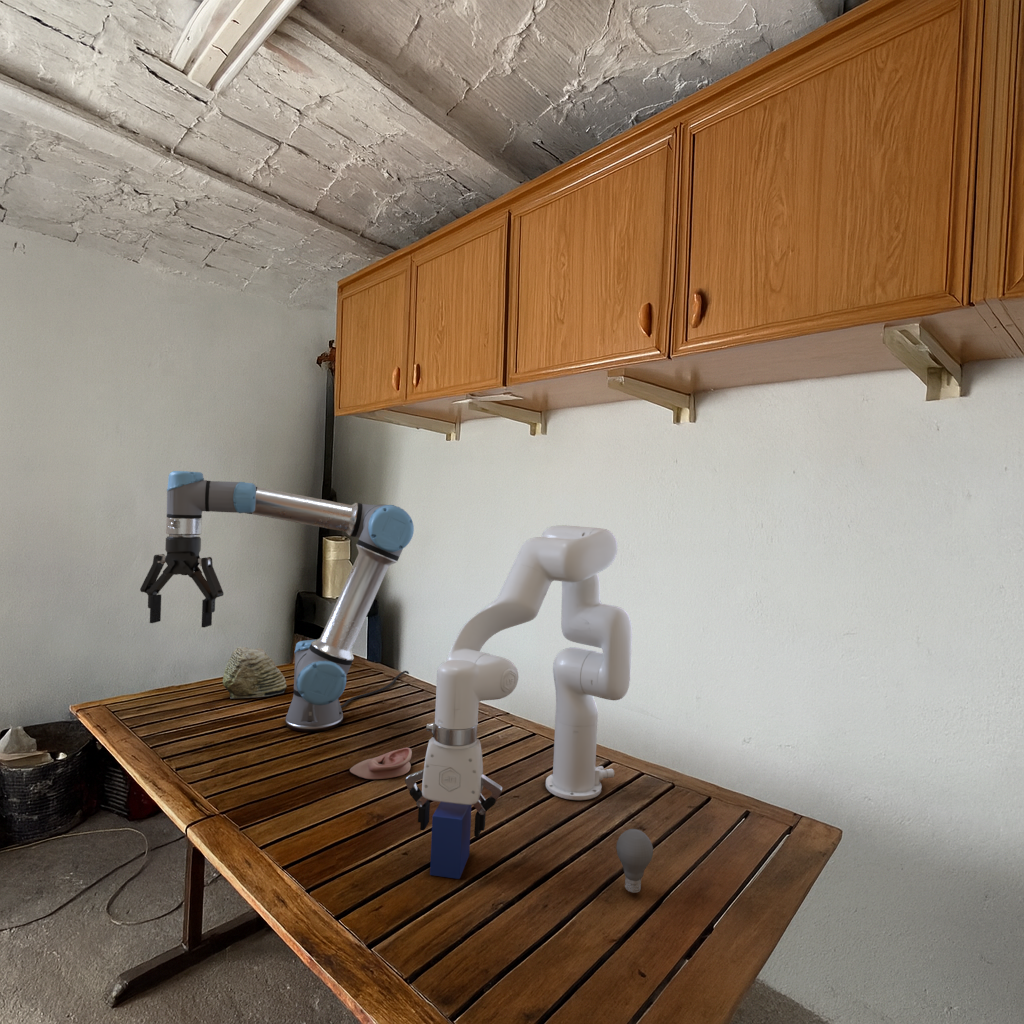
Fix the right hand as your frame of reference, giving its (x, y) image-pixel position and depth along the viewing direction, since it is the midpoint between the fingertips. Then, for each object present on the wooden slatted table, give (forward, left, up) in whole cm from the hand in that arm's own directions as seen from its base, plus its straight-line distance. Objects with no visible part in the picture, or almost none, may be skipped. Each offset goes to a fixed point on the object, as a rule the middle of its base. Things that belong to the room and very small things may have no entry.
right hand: (451, 829), depth 111 cm
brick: (0, 0, -6) cm, 6 cm away
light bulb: (-27, +16, -6) cm, 32 cm away
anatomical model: (+5, -42, -6) cm, 42 cm away
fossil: (+34, -106, -6) cm, 112 cm away
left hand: (+50, -64, +25) cm, 85 cm away
